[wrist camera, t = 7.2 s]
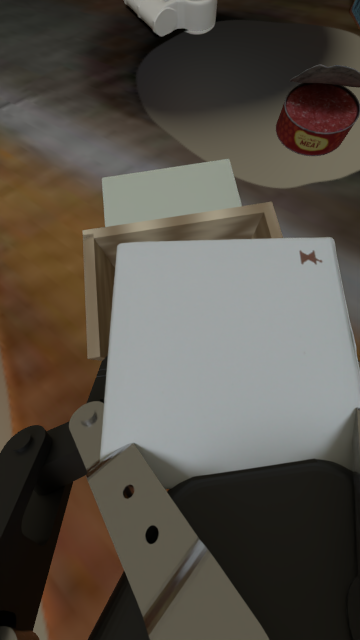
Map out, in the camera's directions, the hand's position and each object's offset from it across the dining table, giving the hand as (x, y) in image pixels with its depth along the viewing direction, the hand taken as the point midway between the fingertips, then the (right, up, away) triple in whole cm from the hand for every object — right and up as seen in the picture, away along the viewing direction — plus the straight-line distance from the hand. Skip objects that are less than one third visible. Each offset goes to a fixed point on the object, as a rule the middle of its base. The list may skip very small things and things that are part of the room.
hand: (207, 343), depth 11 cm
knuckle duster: (-3, +60, +28) cm, 66 cm away
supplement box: (+1, -3, +7) cm, 8 cm away
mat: (-3, +17, +17) cm, 24 cm away
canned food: (+18, +29, +20) cm, 40 cm away
